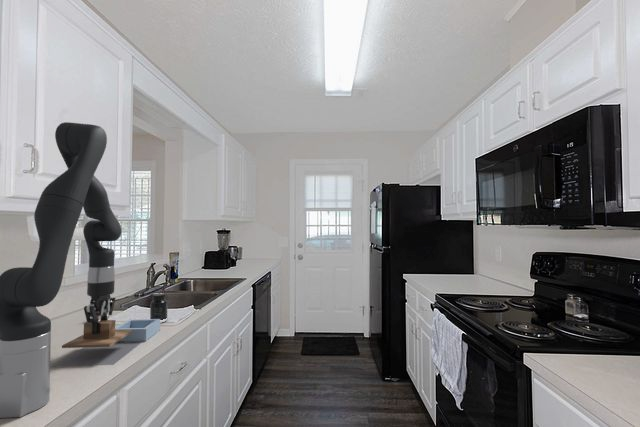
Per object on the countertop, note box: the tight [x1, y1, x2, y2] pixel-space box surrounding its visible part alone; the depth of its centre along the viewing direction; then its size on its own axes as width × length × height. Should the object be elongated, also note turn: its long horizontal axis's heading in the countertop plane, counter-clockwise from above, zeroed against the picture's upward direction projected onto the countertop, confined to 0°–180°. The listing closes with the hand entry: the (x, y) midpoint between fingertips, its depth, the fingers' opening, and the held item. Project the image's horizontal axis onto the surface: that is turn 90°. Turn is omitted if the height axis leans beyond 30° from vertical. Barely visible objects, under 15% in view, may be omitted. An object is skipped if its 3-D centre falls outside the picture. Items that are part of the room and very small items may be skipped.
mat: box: [52, 342, 142, 367], centre depth 107 cm, size 18×18×1 cm
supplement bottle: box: [149, 293, 168, 320], centre depth 143 cm, size 7×7×12 cm
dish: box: [115, 318, 161, 343], centre depth 124 cm, size 12×12×5 cm
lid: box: [61, 319, 132, 349], centre depth 107 cm, size 14×14×6 cm
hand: (99, 331), depth 107 cm, fingers closed on lid, 3 cm apart
